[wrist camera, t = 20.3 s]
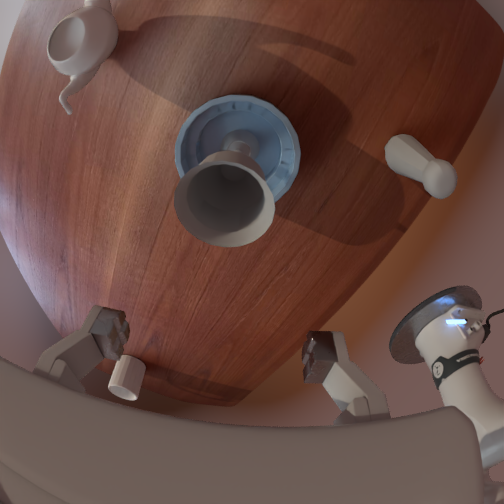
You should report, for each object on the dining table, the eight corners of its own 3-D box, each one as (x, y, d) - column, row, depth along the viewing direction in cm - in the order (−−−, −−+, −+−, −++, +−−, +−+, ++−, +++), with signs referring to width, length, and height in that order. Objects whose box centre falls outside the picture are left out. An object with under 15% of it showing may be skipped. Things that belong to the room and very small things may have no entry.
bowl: (301, 99, 31) (308, 102, 26) (287, 200, 39) (290, 218, 35) (187, 92, 31) (175, 94, 26) (186, 192, 39) (176, 209, 34)
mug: (116, 369, 69) (107, 396, 61) (119, 350, 63) (108, 381, 55) (141, 379, 71) (133, 407, 63) (148, 362, 65) (139, 393, 57)
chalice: (205, 162, 36) (166, 231, 21) (221, 115, 32) (185, 147, 17) (257, 179, 37) (255, 258, 22) (275, 133, 33) (290, 181, 18)
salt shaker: (416, 135, 32) (471, 164, 21) (409, 171, 35) (457, 211, 25) (382, 127, 32) (432, 152, 21) (376, 165, 35) (419, 204, 25)
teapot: (69, 107, 30) (29, 119, 23) (93, -13, 19) (57, -25, 11) (121, 108, 31) (85, 120, 24) (151, -20, 20) (122, -41, 13)
